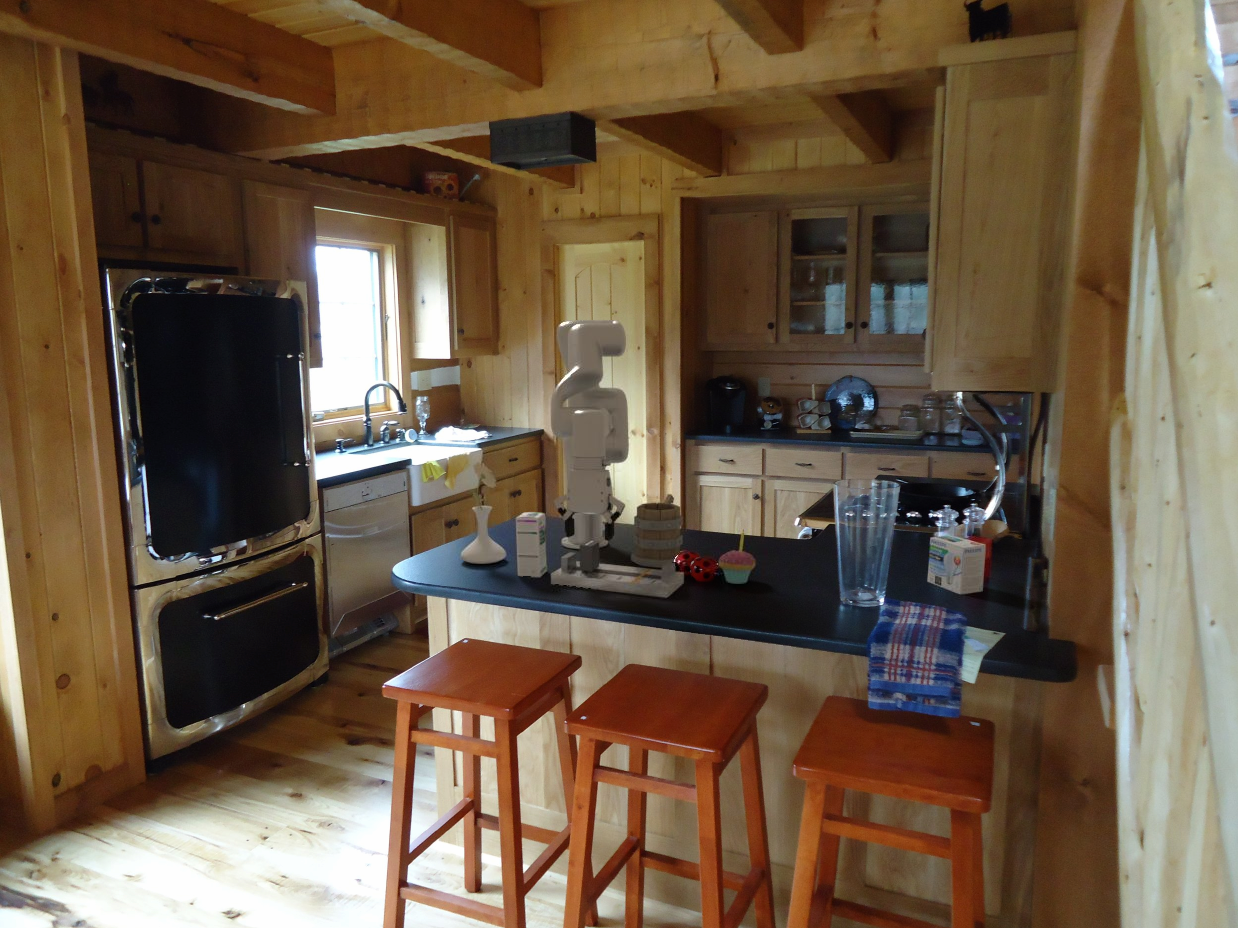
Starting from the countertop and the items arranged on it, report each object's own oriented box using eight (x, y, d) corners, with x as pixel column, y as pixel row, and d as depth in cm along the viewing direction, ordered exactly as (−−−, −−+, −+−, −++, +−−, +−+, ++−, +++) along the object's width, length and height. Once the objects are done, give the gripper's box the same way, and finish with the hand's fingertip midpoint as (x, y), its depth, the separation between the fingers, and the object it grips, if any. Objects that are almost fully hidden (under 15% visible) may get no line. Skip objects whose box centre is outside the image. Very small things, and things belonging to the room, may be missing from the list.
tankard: (675, 569, 213) (675, 509, 210) (626, 564, 217) (626, 505, 215) (696, 550, 231) (697, 494, 229) (651, 546, 236) (651, 491, 233)
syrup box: (540, 577, 206) (539, 517, 203) (516, 576, 207) (515, 516, 205) (547, 571, 211) (546, 512, 209) (523, 569, 212) (522, 511, 210)
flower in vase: (510, 565, 217) (508, 465, 213) (464, 569, 213) (461, 468, 209) (500, 552, 229) (497, 458, 225) (456, 556, 225) (453, 460, 221)
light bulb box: (926, 582, 202) (928, 536, 200) (948, 578, 205) (951, 533, 203) (961, 595, 192) (964, 547, 191) (984, 591, 195) (987, 544, 193)
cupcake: (733, 573, 209) (734, 524, 207) (762, 581, 203) (764, 530, 201) (710, 581, 203) (711, 530, 201) (740, 588, 197) (741, 536, 195)
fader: (587, 565, 206) (587, 540, 205) (599, 566, 205) (599, 541, 204) (579, 570, 202) (579, 544, 201) (591, 571, 201) (591, 545, 200)
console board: (573, 570, 212) (572, 548, 211) (683, 582, 201) (683, 559, 201) (551, 584, 201) (550, 560, 200) (667, 597, 190) (667, 573, 190)
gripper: (630, 463, 199) (630, 537, 202) (561, 460, 206) (562, 532, 208) (618, 467, 193) (618, 544, 195) (547, 464, 199) (548, 538, 201)
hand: (589, 537), depth 201 cm, fingers open, 9 cm apart
